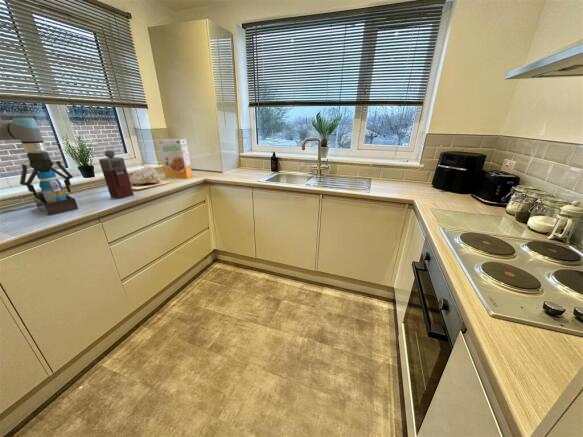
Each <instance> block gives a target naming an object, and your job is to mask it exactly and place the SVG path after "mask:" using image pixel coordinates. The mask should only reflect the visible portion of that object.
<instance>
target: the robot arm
mask: <svg viewBox="0 0 583 437" xmlns="http://www.w3.org/2000/svg"><path fill="white" fill-rule="evenodd" d="M11 120H12V122H0V141H13V140H17V141H18V140H19V141H20V142H21V144H22V147H23V150H24V152H25V153H26V157H27V159H28V161H29V163H25V164H24V163H21V165H20V167H21V175H20V179H19V184H20V185H21V186H26V187H27V190H28V192H30V193H32V194H33V197H35V198H38V195H37V194H38V193H37V190H36V189H35V186H34V185H33V181H34V180H35V178H36V177H37V175H36V174H37V173H38V172H43V171H54V172H55V174H56V175H57V176H60V177H61V178H62V179H63V182H64V185H65V189H66V191H67V193H72V191H71V188H70V187H71V186H72V182H71V181H70V179H73V178H74V176H73V175H72V174H71V173H70V172H69V171H68V170H67V169H66V168H65V167H64V166H63V165H62V163H61V161H59V160H55V161H52V160H51V157H50V154H49V152H48V149H47V147H46V144H45V141H44V140H43V136H42V134H41V131H40V127H39V125H38V124H37V121H36V119H34V118H33V117H12V119H11ZM54 166H57V167H58V168H59V169H60V170H61V171H62V172H63V173H64V174H65V175H64V174H63V173H62V172H60V171H58V170H57V169H56V168H54ZM29 168H32V169H33V170H32V171H31V173H30V175H29V177H28V179H27V174H28V169H29ZM26 179H27V180H26Z"/></svg>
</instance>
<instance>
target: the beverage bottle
mask: <svg viewBox="0 0 583 437" xmlns="http://www.w3.org/2000/svg"><path fill="white" fill-rule="evenodd" d="M36 177H37V179H38V180H39V184H38V187H39V188H40V193H42V194H43V195H44V197H45V200H46V202H47V203H51V202H56V201H61V200H66V199H67V198H66V195H65V194H66V192H65V193H64V191H65V189H64V187H63V186H62V182H61V181H60V180H59V179H58V178H57V174H56V173H55V172H54V171H51V170H50V171H43V172H39V171H38V173H37V174H36Z"/></svg>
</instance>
